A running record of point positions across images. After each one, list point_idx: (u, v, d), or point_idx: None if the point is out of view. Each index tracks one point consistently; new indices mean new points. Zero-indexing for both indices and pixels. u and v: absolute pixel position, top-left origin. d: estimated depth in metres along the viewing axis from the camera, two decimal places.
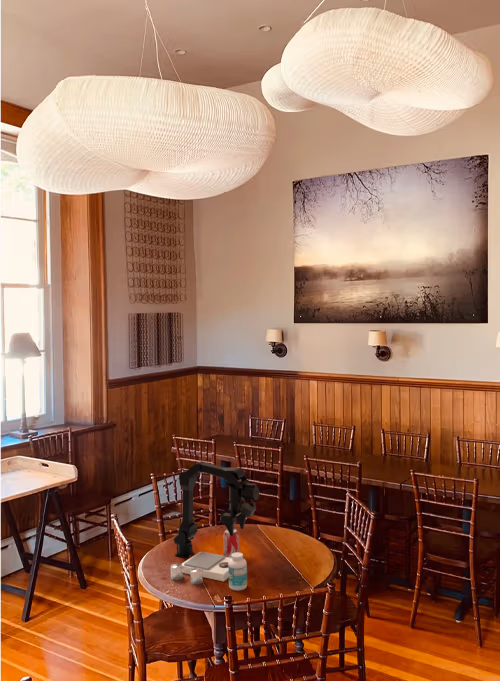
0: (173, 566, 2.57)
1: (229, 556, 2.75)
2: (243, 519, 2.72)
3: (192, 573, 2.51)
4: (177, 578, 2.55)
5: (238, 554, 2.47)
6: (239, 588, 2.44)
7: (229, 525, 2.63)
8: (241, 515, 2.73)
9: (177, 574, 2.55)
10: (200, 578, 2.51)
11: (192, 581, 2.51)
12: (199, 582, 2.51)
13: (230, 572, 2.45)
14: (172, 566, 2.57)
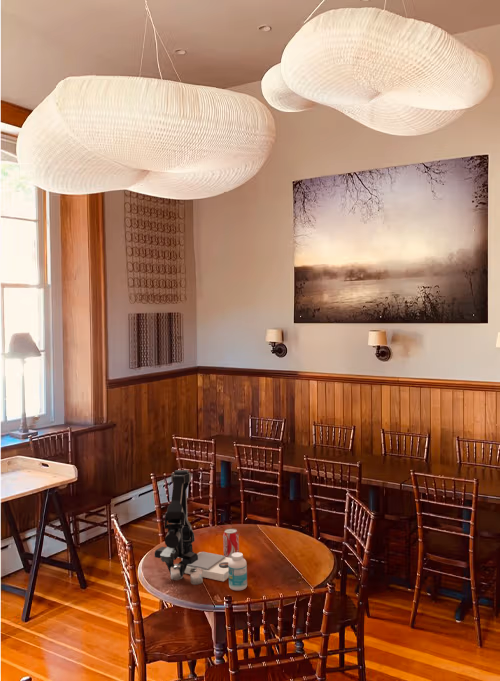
0: (173, 566, 2.57)
1: (229, 556, 2.75)
2: None
3: (192, 573, 2.51)
4: (177, 578, 2.55)
5: (238, 554, 2.47)
6: (239, 588, 2.44)
7: None
8: None
9: (176, 574, 2.55)
10: (200, 578, 2.51)
11: (192, 581, 2.51)
12: (199, 582, 2.51)
13: (230, 572, 2.45)
14: (172, 566, 2.57)
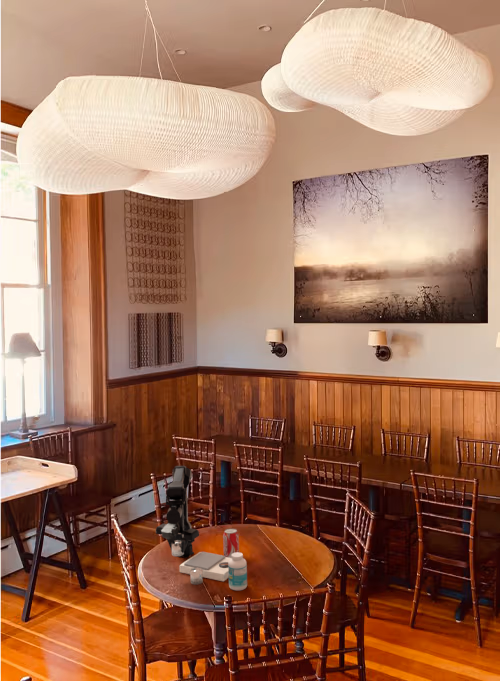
0: (174, 542, 2.58)
1: (229, 556, 2.75)
2: None
3: (192, 573, 2.51)
4: (178, 554, 2.56)
5: (238, 554, 2.47)
6: (239, 588, 2.44)
7: None
8: None
9: (178, 550, 2.56)
10: (200, 578, 2.51)
11: (192, 581, 2.51)
12: (199, 582, 2.51)
13: (230, 572, 2.45)
14: (173, 542, 2.58)
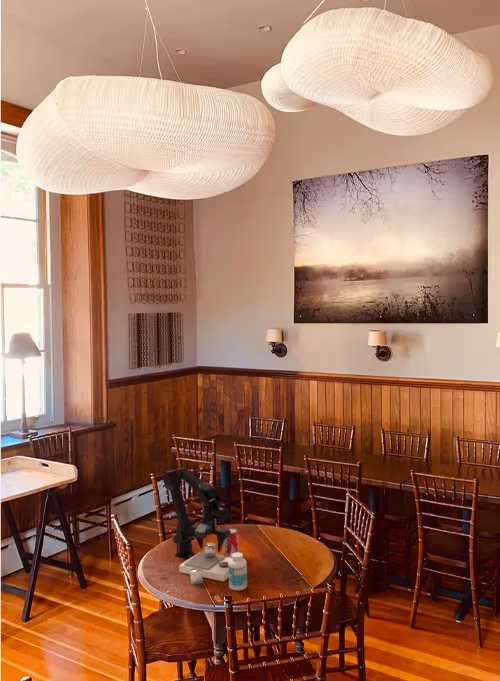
0: (207, 545, 2.70)
1: (229, 556, 2.75)
2: None
3: (192, 573, 2.51)
4: (211, 556, 2.68)
5: (238, 554, 2.47)
6: (239, 588, 2.44)
7: None
8: None
9: (210, 552, 2.68)
10: (200, 578, 2.51)
11: (192, 581, 2.51)
12: (199, 582, 2.51)
13: (230, 572, 2.45)
14: (206, 545, 2.70)
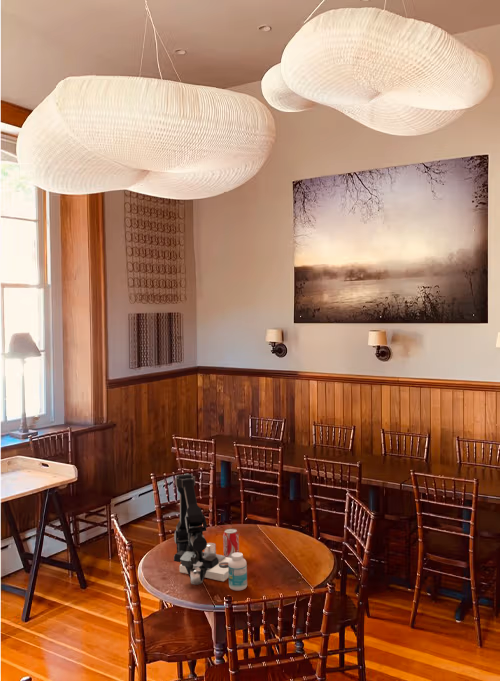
0: (207, 545, 2.70)
1: (229, 556, 2.75)
2: None
3: (192, 573, 2.51)
4: None
5: (238, 554, 2.47)
6: (239, 588, 2.44)
7: None
8: None
9: (210, 552, 2.68)
10: (200, 578, 2.51)
11: (192, 581, 2.51)
12: (199, 582, 2.51)
13: (230, 572, 2.45)
14: None
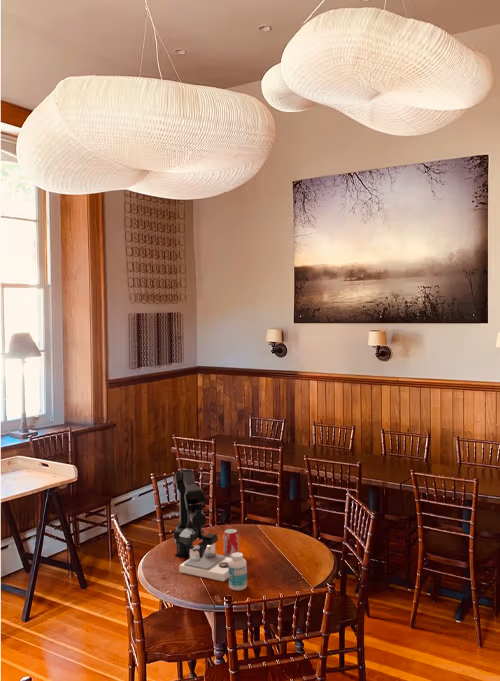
0: (207, 545, 2.70)
1: (229, 556, 2.75)
2: None
3: (191, 550, 2.50)
4: (211, 556, 2.68)
5: (238, 554, 2.47)
6: (239, 588, 2.44)
7: None
8: None
9: (210, 552, 2.68)
10: (199, 555, 2.51)
11: (191, 558, 2.51)
12: (198, 559, 2.51)
13: (230, 572, 2.45)
14: None
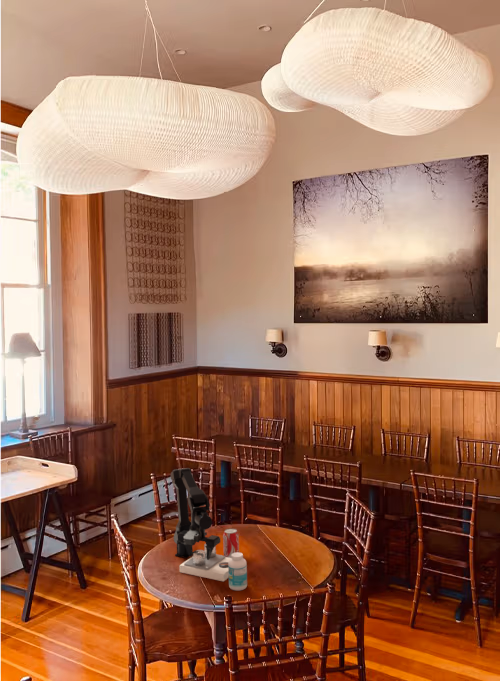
0: None
1: (229, 556, 2.75)
2: None
3: (195, 555, 2.60)
4: (211, 556, 2.68)
5: (238, 554, 2.47)
6: (239, 588, 2.44)
7: None
8: None
9: None
10: (203, 560, 2.61)
11: (195, 562, 2.60)
12: (202, 563, 2.60)
13: (230, 572, 2.45)
14: None
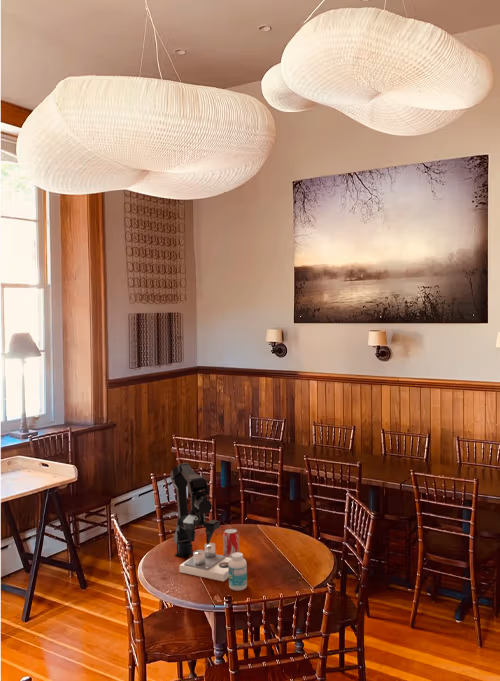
0: (207, 545, 2.70)
1: (229, 556, 2.75)
2: None
3: (195, 555, 2.60)
4: (211, 556, 2.68)
5: (238, 554, 2.47)
6: (239, 588, 2.44)
7: None
8: None
9: (210, 552, 2.68)
10: (203, 560, 2.61)
11: (195, 562, 2.60)
12: (202, 563, 2.60)
13: (230, 572, 2.45)
14: (206, 545, 2.70)
